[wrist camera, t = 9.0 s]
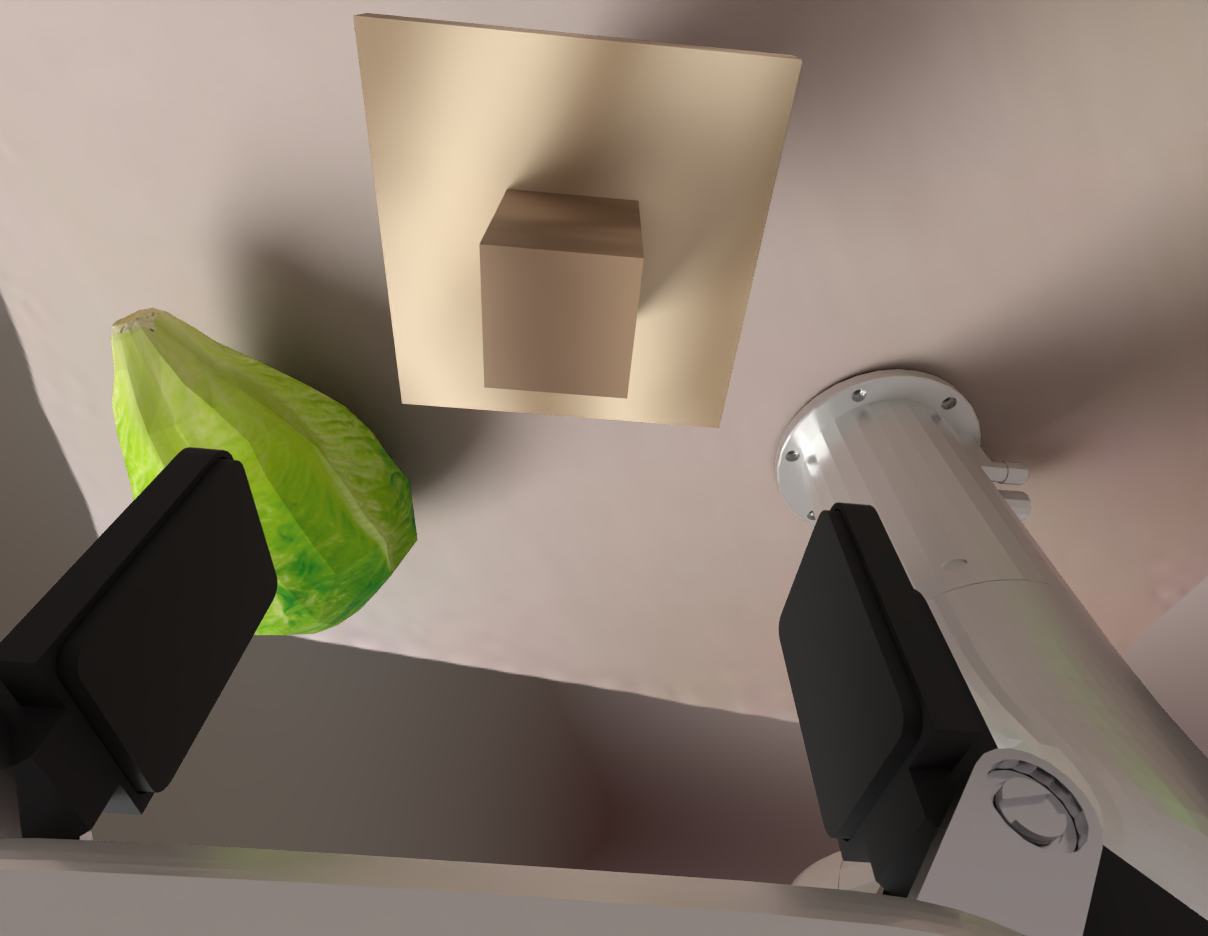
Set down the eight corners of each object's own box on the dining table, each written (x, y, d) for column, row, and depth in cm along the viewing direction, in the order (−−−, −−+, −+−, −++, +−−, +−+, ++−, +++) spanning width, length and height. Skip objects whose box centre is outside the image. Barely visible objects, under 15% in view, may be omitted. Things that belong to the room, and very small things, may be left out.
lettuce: (310, 234, 35) (194, 333, 25) (464, 509, 46) (425, 648, 37) (98, 303, 37) (-79, 416, 28) (295, 547, 49) (218, 686, 39)
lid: (793, 54, 19) (856, 86, 14) (715, 411, 26) (738, 515, 21) (367, 12, 18) (274, 29, 13) (409, 387, 25) (360, 487, 20)
